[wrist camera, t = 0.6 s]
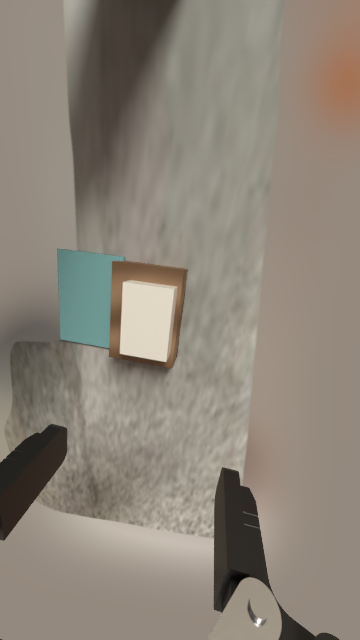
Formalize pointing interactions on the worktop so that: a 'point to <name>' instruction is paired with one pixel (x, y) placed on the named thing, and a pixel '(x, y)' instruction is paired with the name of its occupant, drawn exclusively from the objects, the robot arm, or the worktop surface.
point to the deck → (151, 275)
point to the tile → (147, 319)
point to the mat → (85, 296)
